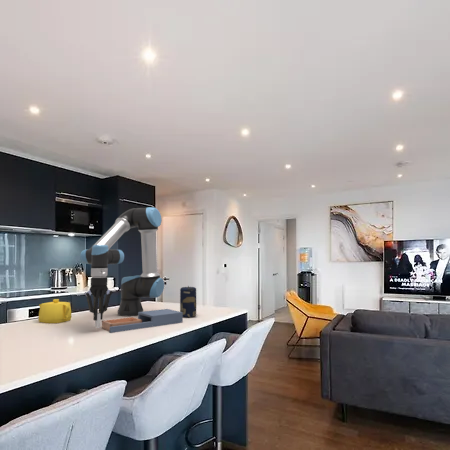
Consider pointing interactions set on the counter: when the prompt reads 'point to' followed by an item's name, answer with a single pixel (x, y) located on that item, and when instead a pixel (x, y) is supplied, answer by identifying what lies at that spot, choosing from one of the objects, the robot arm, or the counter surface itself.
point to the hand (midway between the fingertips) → (97, 327)
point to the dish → (119, 322)
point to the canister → (188, 301)
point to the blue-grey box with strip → (152, 320)
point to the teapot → (55, 312)
